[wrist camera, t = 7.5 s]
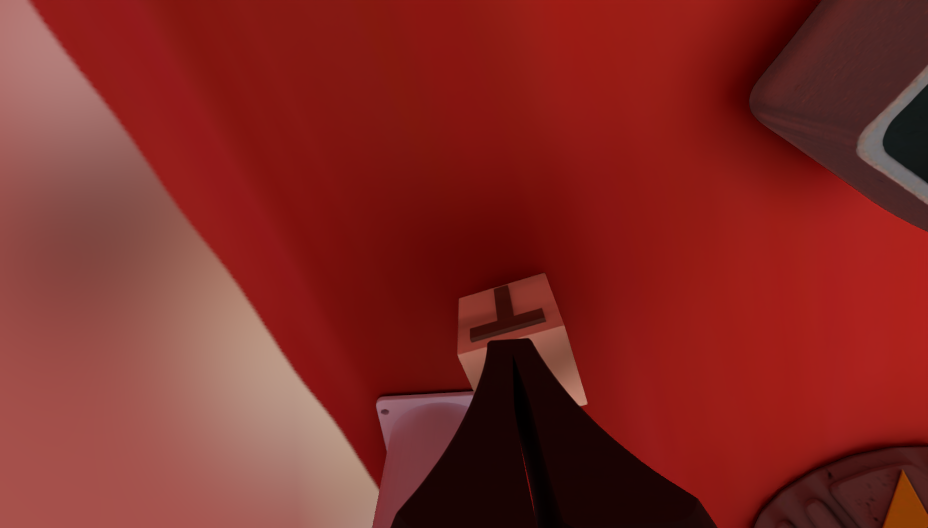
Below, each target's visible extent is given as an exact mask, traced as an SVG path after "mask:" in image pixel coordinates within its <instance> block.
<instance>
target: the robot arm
mask: <svg viewBox="0 0 928 528" xmlns="http://www.w3.org/2000/svg"><path fill="white" fill-rule="evenodd" d="M376 408H377V412H378V416H379V421H380V425H381V429H382V433H383V437H384V441H385V445H386V449H387V455H386V461H385V466H384V471H383V476H382V481H381V486H380V491H379V496H378V501H377V506H376V511H375V517H374V521H373V526H372V528H717V526H716V525H715V523H714V522H713V520H712V519H711V517H710V516H709V514H708V513H707V511H706V510H705V508H704V507H703V506H702V504H701V503H700V501H699V500H698V499H697V498H696V497H694V496H693V495H691V494H690V493H688V492H686V491H685V490H683V489H682V488H680V487H678V486H677V485H675V484H674V483H672V482H671V481H669V480H667V479H666V478H664V477H663V476H661V475H660V474H658V473H657V472H655V471H654V470H653V469H651V468H650V467H648V466H647V465H646V464H644V463H643V462H641V461H640V460H639V459H638V458H636V457H635V456H634V455H633V454H631V453H630V452H629V451H628V450H626V449H625V448H624V447H623V446H622V445H620V444H619V443H618V442H617V441H615V440H614V439H613V438H612V437H611V436H610V435H609V434H607V433H606V432H605V431H604V430H603V429H602V428H601V427H600V426H599V425H598V424H597V423H596V422H595V421H594V420H593V419H592V418H591V417H590V416H589V415H588V414H587V413H586V412H585V411H584V410H583V409H582V408H581V407H580V406H579V405H578V404H577V403H576V401H575V400H574V399H573V398H572V397H571V396H570V395H569V393H568V392H567V391H566V390H565V389H564V387H563V386H562V385H561V384H560V382H559V381H558V380H557V378H556V377H555V376H554V374H553V373H552V372H551V370H550V369H549V368H548V366H547V365H546V363H545V362H544V360H543V359H542V357H541V356H540V354H539V352H538V351H537V349H536V347H535V346H534V344H533V342H532V340H530V339H529V338H521V339H505V340H490V341H489V342H488V343H487V353H486V358H485V363H484V367H483V370H482V373H481V377H480V380H479V383H478V386H477V388H476V391H475V392H474V391H471V392H454V393H437V394H419V395H402V396H385V397H380V398H378V400H377V403H376ZM384 409H387V410H384ZM520 444H521V445H520ZM521 448H522V451H521ZM522 452H523V456H522ZM523 457H524V461H525V466H526V470H527V474H528V479H529V483H530V488H531V494H532V499H533V506H534V511H533V506H532V501H531V496H530V492H529V487H528V482H527V477H526V472H525V467H524V461H523ZM534 514H535V515H534Z"/></svg>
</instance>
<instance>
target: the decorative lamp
mask: <svg viewBox="0 0 928 528" xmlns="http://www.w3.org/2000/svg"><path fill="white" fill-rule="evenodd" d="M754 528H928V446H920V447H889V448H884V449H880V450H875V451H870V452H866V453H861V454H856V455H852V456H848V457H846V458H843V459H841V460H838V461H836V462H833V463H831V464H828V465H826V466H823V467H821V468H818V469H816V470H813V471H811V472H810V473H808V474H806V475H805V476H803V477H802V478H800V479H798V480H797V481H795V482H794V483H792V484H790V485H789V486H787V487H786V488H784V489H783V490H781V491H780V492H779V493H778V494H777V495H776V496H775V497H774V498H773V499H772V500H771V501H770V502H769V503H768V504H767V505H766V506H765V507H764V509H763V510H762V511H761V513H760V515H759V517H758V519H757V521H756V523H755V526H754Z"/></svg>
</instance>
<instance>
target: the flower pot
mask: <svg viewBox="0 0 928 528" xmlns="http://www.w3.org/2000/svg"><path fill="white" fill-rule="evenodd" d="M749 106H750V110H751V112H752V114H753V115H754V116H755V117H756V119H757V120H758V121H760V122H761V123H762V124H763V125H765V126H766V127H767V128H769V129H770V130H772V131H773V132H775V133H776V134H778V135H779V136H781V137H782V138H784V139H785V140H786V141H788V142H789V143H791V144H792V145H794V146H795V147H797V148H798V149H799V150H801V151H802V152H804V153H805V154H806V155H808V156H809V157H811V158H812V159H814V160H815V161H816V162H818V163H819V164H821V165H822V166H824V167H825V168H826V169H828V170H829V171H831V172H832V173H834V174H835V175H836V176H838V177H839V178H841V179H842V180H843V181H845V182H846V183H848V184H849V185H851V186H852V187H853V188H855V189H856V190H858V191H859V192H860V193H862V194H863V195H864V196H866V197H867V198H869V199H870V200H871V201H873V202H874V203H876V204H877V205H879V206H880V207H882V208H884V209H885V210H887V211H888V212H890V213H892V214H894V215H896V216H897V217H899V218H901V219H903V220H905V221H907V222H909V223H910V224H912V225H915V226H917V227H919V228H921V229H923V230H925V231H927V232H928V0H822V1H821V2H820V3H819V4H818V6H817V7H816V8H815V10H814V11H813V12H812V13H811V15H810V16H809V17H808V18H807V20H806V21H805V22H804V24H803V25H802V26H801V27H800V29H799V30H798V31H797V32H796V34H795V35H794V36H793V38H792V39H791V40H790V41H789V43H788V44H787V45H786V46H785V48H784V49H783V50H782V51H781V53H780V54H779V55H778V56H777V58H776V59H775V60H774V61H773V63H772V64H771V65H770V66H769V67H768V69H767V70H766V71H765V72H764V74H763V75H762V76H761V77H760V79H759V80H758V81H757V82H756V84H755V85H754V87H753V89H752V91H751V94H750V98H749Z"/></svg>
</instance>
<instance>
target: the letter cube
mask: <svg viewBox="0 0 928 528" xmlns="http://www.w3.org/2000/svg"><path fill="white" fill-rule="evenodd" d="M521 338H529V339H530V340H532V342H533V344H534V346H535V347H536V349H537V351H538V352H539V354H540V356H541V357H542V359H543V360H544V362H545V363H546V365H547V366H548V368H549V369H550V370H551V372H552V373H553V374H554V376H555V377H556V378H557V380H558V381H559V382H560V384H561V385H562V386H563V387H564V389H565V390H566V391H567V392H568V393H569V395H570V396H571V397H572V398H573V399H574V400H575V401H576V403H577V404H578V405H579V406H582V405H586V404H587V400H586V397H585V394H584V390H583V387H582V384H581V380H580V377H579V373H578V370H577V367H576V363H575V360H574V357H573V353H572V350H571V346H570V343H569V340H568V336H567V333H566V330H565V326H564V323H563V321H562V318H561V315H560V312H559V310H558V307H557V304H556V302H555V299H554V296H553V294H552V291H551V288H550V285H549V283H548V280H547V277H546V275H545V273H542V274H538V275H535V276H532V277H528V278H525V279H522V280H519V281H515V282H512V283H509V284H505V285H502V286H499V287H495V288H492V289H489V290H485V291H482V292H479V293H476V294H472V295H469V296H466V297H462V298H459V315H458V351H457V355H458V357H459V360H460V362H461V364H462V366H463V368H464V371H465V373H466V375H467V377H468V379H469V381H470V384H471V386H472V388H473V390H474V392H475V391H476V388H477V386H478V383H479V380H480V377H481V373H482V370H483V367H484V363H485V358H486V353H487V343H488V342H489V341H490V340H505V339H521Z"/></svg>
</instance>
